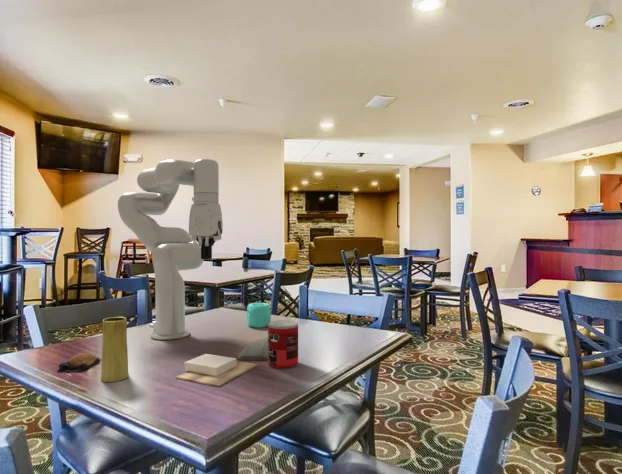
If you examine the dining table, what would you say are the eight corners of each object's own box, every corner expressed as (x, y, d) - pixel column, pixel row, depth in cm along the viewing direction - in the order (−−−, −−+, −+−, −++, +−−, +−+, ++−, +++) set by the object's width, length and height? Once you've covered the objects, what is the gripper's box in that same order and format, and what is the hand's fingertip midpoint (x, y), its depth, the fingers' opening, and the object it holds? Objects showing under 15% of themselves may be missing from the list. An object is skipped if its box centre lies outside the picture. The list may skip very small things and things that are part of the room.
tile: (184, 362, 99) (216, 367, 95) (205, 353, 106) (236, 358, 102) (184, 370, 99) (216, 376, 95) (205, 361, 106) (236, 366, 102)
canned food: (268, 360, 109) (268, 320, 109) (297, 359, 110) (297, 319, 110) (267, 369, 101) (267, 326, 101) (299, 368, 102) (298, 326, 102)
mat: (175, 378, 95) (175, 376, 95) (218, 359, 110) (218, 357, 110) (218, 386, 90) (218, 385, 90) (257, 365, 104) (257, 364, 104)
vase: (110, 384, 91) (109, 322, 91) (95, 379, 95) (95, 319, 95) (134, 376, 97) (133, 318, 96) (119, 371, 100) (119, 315, 100)
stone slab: (236, 366, 109) (272, 361, 109) (235, 356, 109) (271, 351, 109) (250, 344, 131) (279, 340, 131) (248, 336, 131) (278, 332, 131)
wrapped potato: (74, 362, 110) (73, 348, 110) (105, 361, 110) (105, 348, 110) (51, 375, 99) (50, 360, 99) (85, 374, 100) (85, 360, 100)
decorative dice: (267, 322, 156) (267, 302, 156) (270, 327, 148) (270, 305, 148) (246, 323, 154) (246, 303, 154) (249, 328, 146) (249, 306, 146)
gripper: (179, 199, 122) (179, 259, 122) (217, 197, 116) (218, 260, 116) (195, 201, 129) (196, 257, 129) (233, 199, 123) (233, 259, 123)
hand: (206, 258), depth 123 cm, fingers closed
